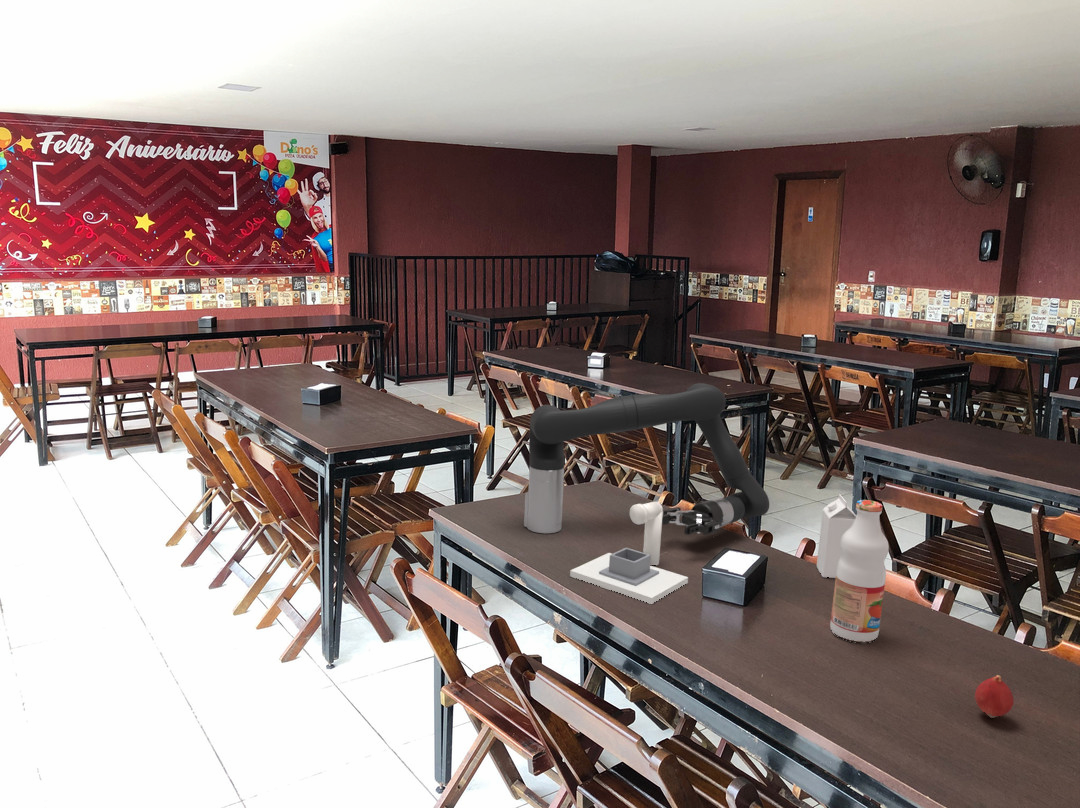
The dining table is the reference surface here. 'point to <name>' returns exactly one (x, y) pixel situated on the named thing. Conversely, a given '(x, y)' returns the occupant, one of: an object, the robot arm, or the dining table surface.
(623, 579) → the duct
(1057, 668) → the dining table surface
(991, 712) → the onion
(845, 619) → the fruit juice
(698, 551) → the dining table surface
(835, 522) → the milk carton
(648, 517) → the elbow
